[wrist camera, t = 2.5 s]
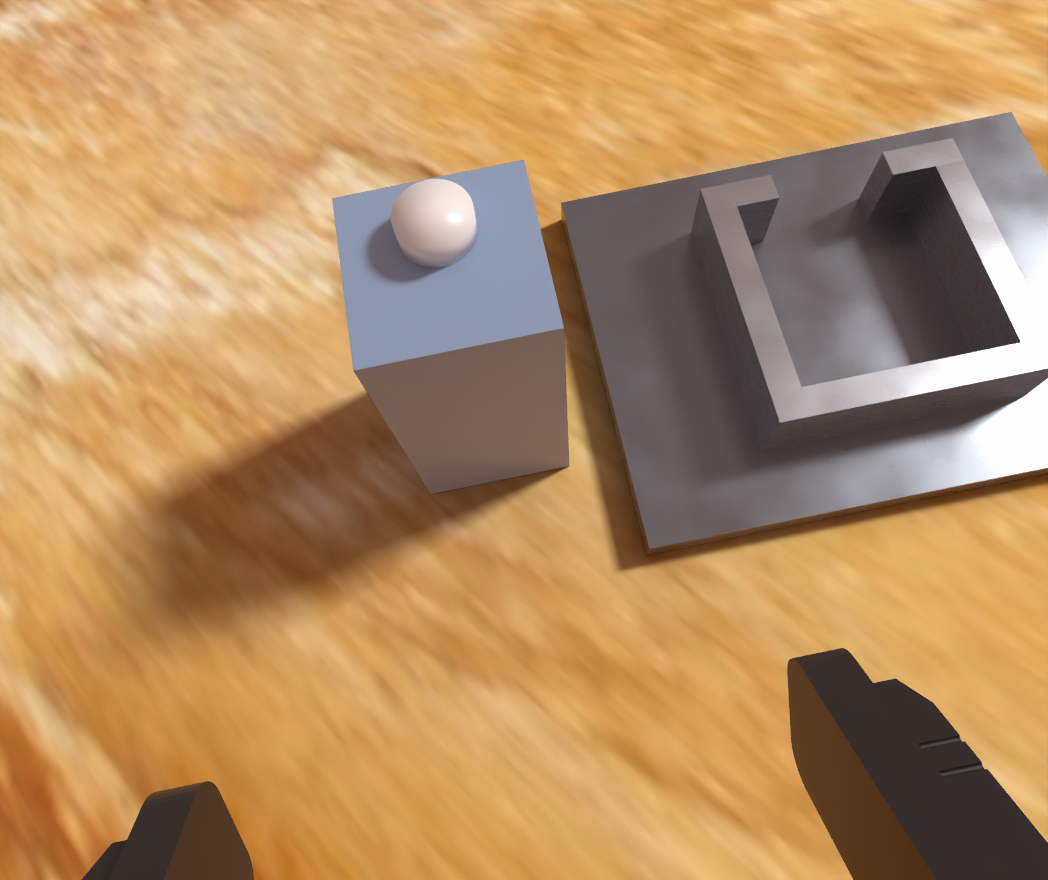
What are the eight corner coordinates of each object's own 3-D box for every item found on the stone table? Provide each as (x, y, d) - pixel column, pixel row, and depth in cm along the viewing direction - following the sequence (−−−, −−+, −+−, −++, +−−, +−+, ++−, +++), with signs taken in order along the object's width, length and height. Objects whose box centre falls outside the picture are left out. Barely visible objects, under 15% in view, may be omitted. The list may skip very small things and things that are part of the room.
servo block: (430, 494, 27) (343, 354, 17) (405, 328, 30) (315, 121, 20) (569, 466, 27) (563, 310, 17) (532, 302, 30) (508, 82, 20)
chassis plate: (647, 555, 26) (656, 530, 23) (561, 218, 31) (559, 158, 28) (1168, 448, 26) (1252, 408, 23) (998, 130, 31) (1047, 59, 28)
